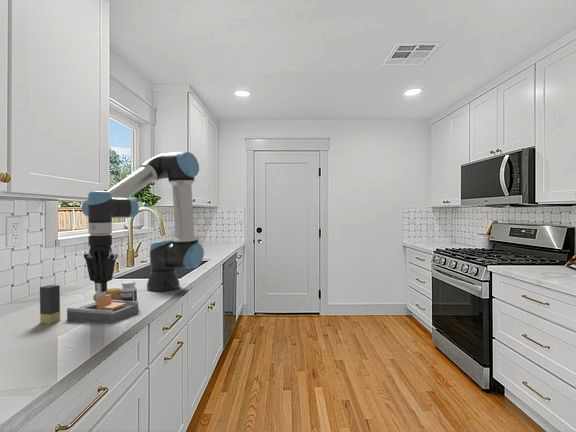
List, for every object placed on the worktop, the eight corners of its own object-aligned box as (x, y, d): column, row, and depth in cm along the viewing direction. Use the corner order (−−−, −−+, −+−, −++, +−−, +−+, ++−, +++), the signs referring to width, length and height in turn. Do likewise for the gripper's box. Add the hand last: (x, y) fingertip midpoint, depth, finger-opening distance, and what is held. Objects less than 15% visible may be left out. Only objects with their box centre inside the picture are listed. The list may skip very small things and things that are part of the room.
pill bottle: (130, 305, 148) (129, 280, 148) (140, 306, 146) (140, 281, 146) (117, 308, 143) (117, 282, 143) (127, 310, 141) (127, 284, 141)
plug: (50, 319, 130) (50, 284, 129) (60, 320, 128) (59, 285, 128) (40, 322, 126) (39, 287, 126) (49, 323, 125) (49, 287, 125)
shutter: (110, 304, 137) (110, 293, 137) (126, 305, 135) (126, 294, 135) (95, 309, 130) (95, 298, 130) (112, 310, 128) (112, 299, 128)
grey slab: (97, 309, 142) (97, 299, 142) (138, 312, 138) (138, 301, 138) (67, 319, 129) (67, 308, 129) (110, 323, 124) (110, 311, 124)
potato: (124, 304, 150) (124, 288, 150) (93, 307, 145) (93, 291, 145) (123, 300, 156) (123, 286, 156) (93, 304, 151) (93, 288, 151)
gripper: (76, 235, 131) (77, 302, 132) (107, 235, 128) (108, 304, 128) (93, 233, 139) (94, 297, 139) (123, 234, 135) (123, 299, 135)
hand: (101, 300), depth 133 cm, fingers closed
